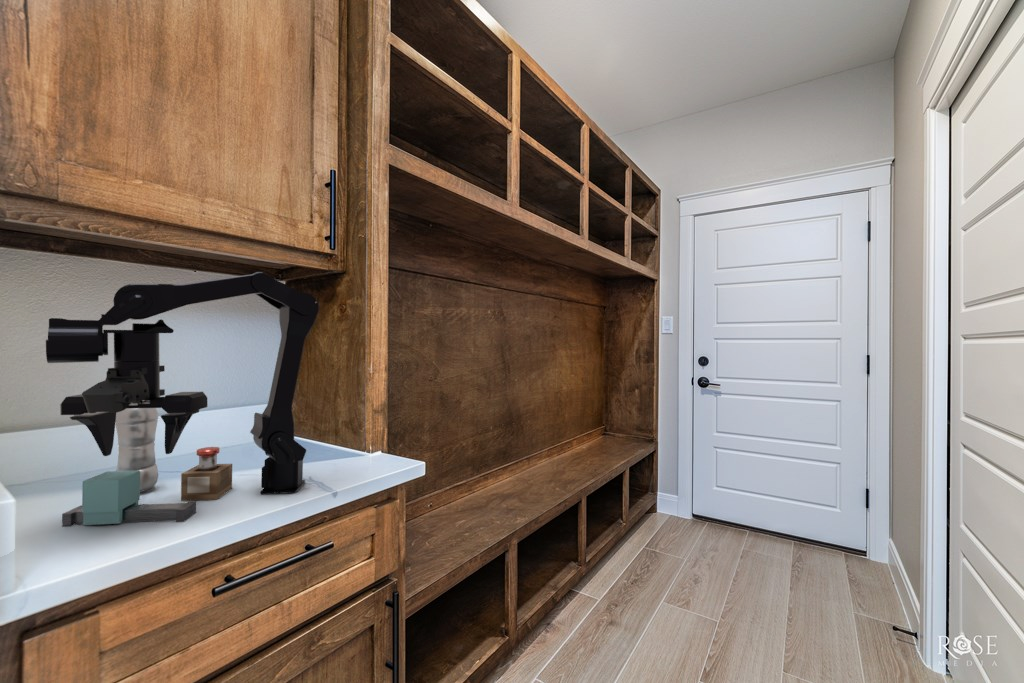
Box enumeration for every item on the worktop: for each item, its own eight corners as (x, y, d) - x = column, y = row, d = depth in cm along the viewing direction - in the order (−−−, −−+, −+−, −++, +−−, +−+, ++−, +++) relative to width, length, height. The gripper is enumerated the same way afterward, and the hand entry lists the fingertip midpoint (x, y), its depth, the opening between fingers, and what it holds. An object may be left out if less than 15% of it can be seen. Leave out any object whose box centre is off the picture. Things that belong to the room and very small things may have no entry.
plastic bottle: (166, 485, 88) (168, 386, 88) (139, 498, 81) (140, 390, 81) (133, 485, 88) (135, 386, 88) (103, 497, 81) (105, 390, 81)
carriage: (139, 511, 74) (140, 470, 74) (117, 524, 69) (118, 480, 69) (106, 513, 74) (106, 471, 74) (81, 525, 69) (82, 481, 69)
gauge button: (222, 474, 86) (223, 446, 86) (213, 480, 82) (213, 451, 82) (202, 475, 85) (202, 447, 85) (192, 481, 82) (192, 451, 82)
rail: (196, 512, 75) (196, 501, 75) (183, 521, 72) (184, 509, 72) (80, 517, 72) (80, 505, 72) (62, 526, 69) (62, 514, 69)
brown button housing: (231, 488, 87) (232, 463, 87) (215, 500, 81) (216, 473, 81) (198, 489, 86) (199, 464, 86) (179, 501, 80) (180, 474, 80)
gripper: (25, 364, 63) (27, 472, 63) (168, 364, 66) (169, 467, 66) (88, 359, 74) (90, 451, 74) (208, 359, 77) (209, 447, 77)
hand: (138, 454), depth 73 cm, fingers open, 9 cm apart
